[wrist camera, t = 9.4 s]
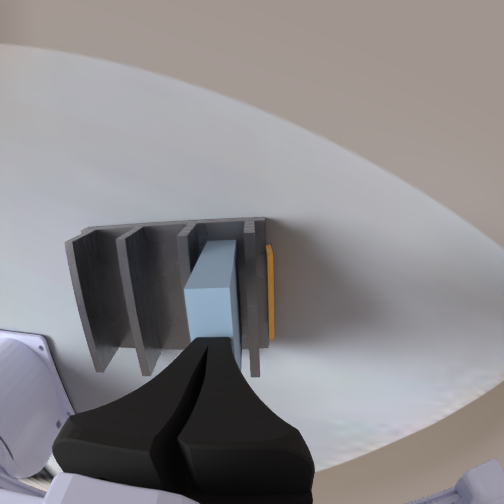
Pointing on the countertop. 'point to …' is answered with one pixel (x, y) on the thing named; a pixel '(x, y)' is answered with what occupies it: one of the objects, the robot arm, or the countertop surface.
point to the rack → (163, 285)
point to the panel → (215, 295)
